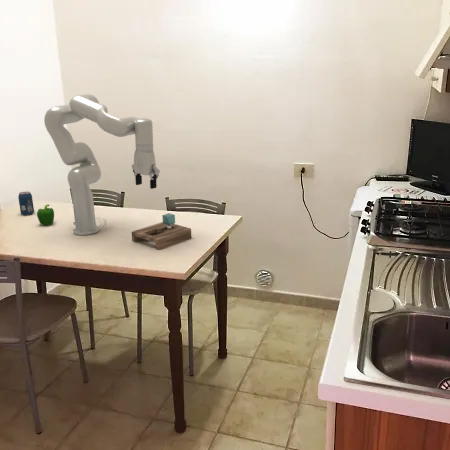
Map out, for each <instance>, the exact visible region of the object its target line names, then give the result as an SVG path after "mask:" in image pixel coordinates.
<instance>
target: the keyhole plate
mask: <svg viewBox="0 0 450 450" xmlns="http://www.w3.org/2000/svg"><path fill="white" fill-rule="evenodd" d="M171 227H172V228H171V229H167V225H166V224H163V221H162V222H158V223H154V224H152V225H148V226H146V227H142V228H139V229H136V230H132V231H131V232H130V234H131V242H132V243H133V242H138V241H141V240H147V241H148V242H149V241H150V242H153V243H155V250H157V251H160V250H162V249H165V248H168V247H170V246H172V245H175V244H179V243H181V242H184V241H187V240H189V239H191V238H192V228H190V227H187V226H183V225H179V224H176V223H174V224H171Z"/></svg>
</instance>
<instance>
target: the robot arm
mask: <svg viewBox="0 0 450 450" xmlns="http://www.w3.org/2000/svg"><path fill="white" fill-rule="evenodd" d="M108 112H109V111H108V107H107V106H106V105H104V104H102V103H100V102H99V99H98V98H97V97H96V96H95V95H93V94H88V93H87V94H78V95H75V96H73V97H72V98H71V99H70V100H69V102H68V104H62V105H55V106H52V107H50V108H49V109H48V110H46V112H45V115H44V119H43V120H44V122H43V123H44V126H45V129H46V131H47V132H48V135H49V136H50V137H51V140H52V141H53V143H54V146H55V148H56V150H57V152H58V154H59V156H60V159H61V161H62V162H63V163H64V164H65V165H66V166H74V165H78V164H79V166H76V167H73V168H72V169H71V170H69V171H68V173H67V182H68V185H69V188H70V191H71V194H70V195H71V200H72V208H73V214H74V215H73V216H74V222H73V225H74V226H75V228H73V230H72V233H73V234H74V235H76V236H89V235H90V236H91V235H93V234H94V235H95V234H97V233H98V232H99V231H100V230H101V229H100V226H98V225H97V222H96V213H95V204H94V195H93V191H92V190H91V188H90V186H89V185H92V184H95V183H97V182H98V181H99V180H100V179H101V177H102V171H101V168H100V166H99V164H98V160H97V159H96V157H95V155H94V153H93V151H92V149H91V147H90V145H88V144H86V143H85V142H75V140H74V138H73V135H72V133H71V132H70V131H69V130H68V129H67V128H66V127H65V126H64V125H68V124H73V123H78V122H80V121H82V120H84V119H87V120H89V121H91V122H93V123H96V124H97V126H98V127H99V128H100V129H101V130H102V131H104V132H106V133H107V134H110V135H113V136H116V137H119V138H124V137H128V136H132V135H133V136H134V138H135V139H134V141H135V150H134V153H133V164H131V169H132V172H133V176H134V181H135V185H136V186H140V185H142V184H143V182H142V181H143V175H144V176H149V178H150V179H149V185H150V186H149V188H150V190H153V189H156V188H157V187H158V185H157V179H158V177H159V175H160V169H159V168H157V165H156V164H157V163H156V156H155V152H154V133H153V131H154V130H153V128H154V127H153V121H152V120H151V119H149V118H138V117H135V116H134V117H133V116H127V117H124V118H117V117H115V116H112V115H110V114H108Z"/></svg>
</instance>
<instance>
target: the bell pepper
mask: <svg viewBox="0 0 450 450" xmlns="http://www.w3.org/2000/svg"><path fill="white" fill-rule="evenodd" d="M36 216H37V220H38V222H39V224H40V225H41V226H50V225H53V223H54V221H55V211H54V208H52V207H50V204H49V203H48V204H45V205H44V208H43V209H42V208H39V209H38V210H37V212H36Z"/></svg>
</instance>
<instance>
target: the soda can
mask: <svg viewBox="0 0 450 450" xmlns="http://www.w3.org/2000/svg"><path fill="white" fill-rule="evenodd" d="M17 198H18V205H19V209H20V214H21V215H22V216H26V217H27V216H28V217H29V216H33V214H34V213H35V207H34V202H33V195H32V193H31V191H21V192H19V193H18V197H17Z"/></svg>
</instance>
